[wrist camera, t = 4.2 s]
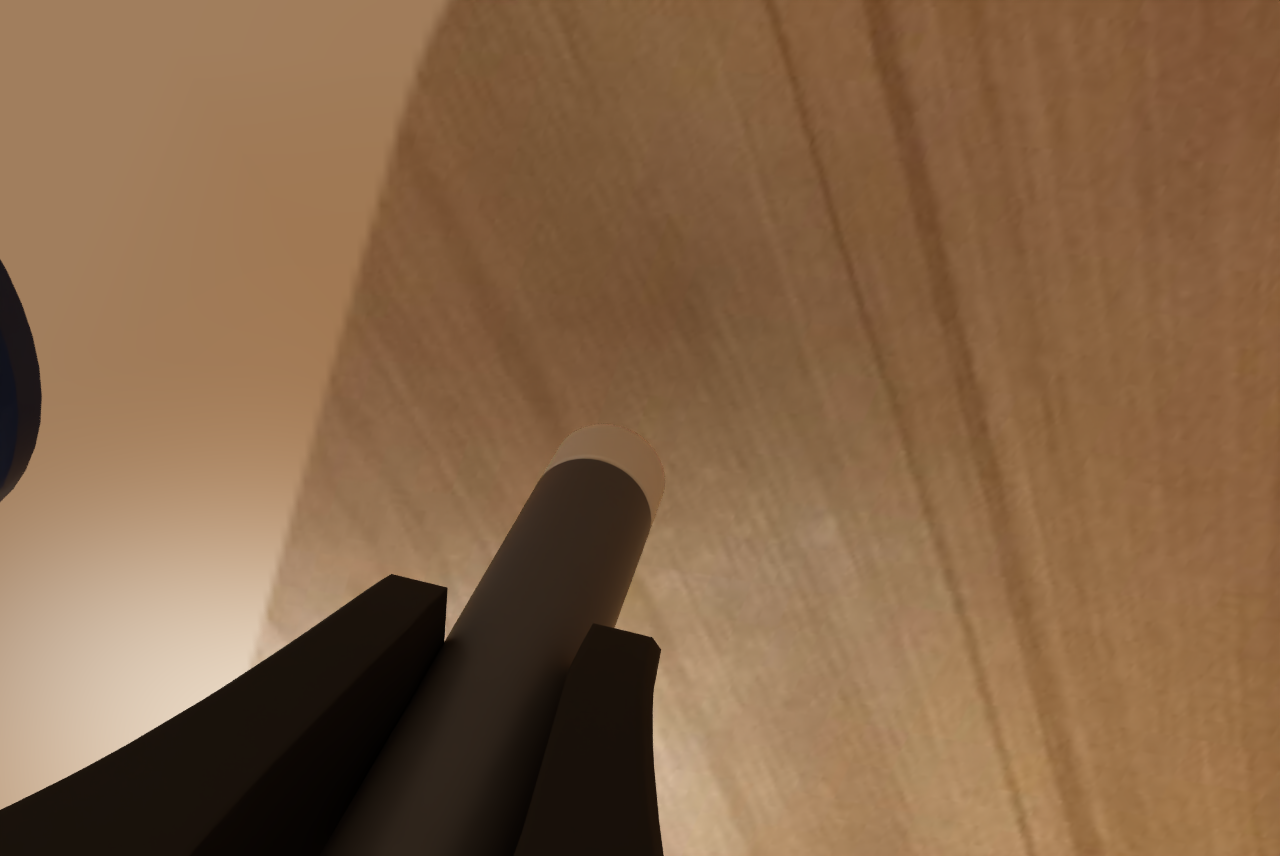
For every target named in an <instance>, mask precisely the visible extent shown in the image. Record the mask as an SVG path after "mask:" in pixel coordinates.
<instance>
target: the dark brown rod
mask: <svg viewBox="0 0 1280 856" xmlns="http://www.w3.org/2000/svg"><path fill="white" fill-rule="evenodd" d="M664 489H665V473H664V468H663V465H662V463H661V460H660V458H659V456H658V455H657V453H656V452H655V450H654V449H653V447H652V446H651V445H650V444H649V443H648V442H647V441H646V440H645V439H644V438H642V437H641V436H640V435H638V434H637V433H635V432H633V431H631V430H629V429H627V428H624V427H621V426H617V425H612V424H594V425H590V426H586V427H583V428H580V429H578V430H576V431H574V432H573V433H571V434H570V435H568V436H567V437H566V438H565V439H564V440H563V442H562V443H561V444H560V446H559V447H558V449H557V451H556V452H555V454H554V456H553V458H552V459H551V461H550V463H549V464H548V466H547V468H546V470H545V471H544V473H543V475H542V477H541V478H540V480H539V482H538V483H537V485H536V487H535V488H534V490H533V492H532V493H531V495H530V497H529V499H528V500H527V502H526V504H525V505H524V507H523V509H522V511H521V512H520V514H519V516H518V517H517V519H516V521H515V523H514V524H513V526H512V528H511V529H510V531H509V533H508V534H507V536H506V538H505V540H504V541H503V543H502V545H501V546H500V548H499V550H498V552H497V553H496V555H495V557H494V558H493V560H492V562H491V564H490V565H489V567H488V569H487V570H486V572H485V574H484V575H483V577H482V579H481V581H480V582H479V584H478V586H477V587H476V589H475V591H474V593H473V594H472V596H471V598H470V599H469V601H468V603H467V605H466V606H465V608H464V610H463V611H462V613H461V615H460V616H459V618H458V620H457V622H456V623H455V625H454V627H453V628H452V630H451V632H450V634H449V635H448V637H447V639H446V640H445V642H444V644H443V646H442V647H441V649H440V651H439V652H438V654H437V656H436V657H435V659H434V661H433V663H432V664H431V666H430V668H429V669H428V671H427V673H426V675H425V676H424V678H423V680H422V681H421V683H420V685H419V687H418V688H417V690H416V692H415V693H414V695H413V697H412V698H411V700H410V702H409V704H408V705H407V707H406V709H405V710H404V712H403V714H402V716H401V717H400V719H399V721H398V722H397V724H396V726H395V728H394V729H393V731H392V733H391V734H390V736H389V738H388V739H387V741H386V743H385V745H384V746H383V748H382V750H381V751H380V753H379V755H378V757H377V758H376V760H375V762H374V763H373V765H372V767H371V769H370V770H369V772H368V774H367V775H366V777H365V779H364V780H363V782H362V784H361V786H360V787H359V789H358V791H357V792H356V794H355V796H354V798H353V799H352V801H351V803H350V804H349V806H348V808H347V810H346V811H345V813H344V815H343V816H342V818H341V820H340V821H339V823H338V825H337V827H336V828H335V830H334V832H333V833H332V835H331V837H330V839H329V840H328V842H327V844H326V845H325V847H324V849H323V851H322V852H321V854H320V856H514V853H515V850H516V847H517V845H518V842H519V839H520V836H521V833H522V830H523V827H524V823H525V820H526V816H527V813H528V809H529V806H530V802H531V799H532V795H533V792H534V788H535V785H536V782H537V778H538V775H539V771H540V768H541V764H542V761H543V757H544V754H545V750H546V747H547V743H548V740H549V736H550V733H551V729H552V726H553V722H554V719H555V715H556V712H557V708H558V705H559V701H560V698H561V694H562V691H563V687H564V684H565V681H566V677H567V674H568V671H569V668H570V666H571V664H572V662H573V660H574V658H575V656H576V654H577V652H578V650H579V648H580V646H581V644H582V642H583V640H584V638H585V637H586V635H587V633H588V631H589V629H590V628H591V626H592V624H593V623H595V624H599V625H603V626H607V627H611V628H614V627H615V625H616V622H617V619H618V617H619V614H620V611H621V608H622V606H623V603H624V600H625V597H626V595H627V592H628V589H629V586H630V584H631V581H632V578H633V575H634V573H635V570H636V567H637V565H638V562H639V559H640V556H641V554H642V551H643V548H644V545H645V543H646V540H647V537H648V534H649V531H650V529H651V526H652V523H653V521H654V518H655V515H656V513H657V510H658V507H659V504H660V502H661V499H662V496H663V493H664Z"/></svg>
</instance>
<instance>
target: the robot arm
mask: <svg viewBox="0 0 1280 856" xmlns="http://www.w3.org/2000/svg"><path fill="white" fill-rule="evenodd" d="M446 604H447V587H443V586H439V585H434V584H430V583H426V582H422V581H418V580H414V579H410V578H406V577H402V576H397V575H393V574H391V575H389V576H387V577H386V578H384V579H382V580H381V581H379V582H378V583H376V584H375V585H373V586H372V587H370V588H369V589H367V590H366V591H364V592H363V593H362V594H360V595H359V596H357V597H356V598H354V599H353V600H351V601H350V602H349V603H347V604H346V605H344V606H343V607H341V608H340V609H339V610H337V611H336V612H334V613H333V614H331V615H330V616H329V617H327V618H326V619H324V620H323V621H321V622H320V623H319V624H317V625H316V626H314V627H313V628H311V629H310V630H308V631H307V632H305V633H304V634H302V635H301V636H300V637H298V638H297V639H295V640H294V641H292V642H291V643H289V644H288V645H286V646H285V647H283V648H282V649H281V650H279V651H277V652H276V653H274V654H273V655H271V656H270V657H268V658H267V659H265V660H264V661H262V662H261V663H259V664H258V665H256V666H255V667H253V668H251V669H250V670H248V671H247V672H245V673H244V674H242V675H241V676H239V677H238V678H237V679H235V680H233V681H232V682H230V683H229V684H227V685H226V686H224V687H222V688H221V689H219V690H218V691H216V692H215V693H213V694H211V695H210V696H208V697H207V698H205V699H203V700H202V701H200V702H198V703H197V704H195V705H194V706H192V707H190V708H188V709H186V710H185V711H183V712H182V713H180V714H178V715H176V716H175V717H173V718H171V719H170V720H168V721H166V722H165V723H163V724H161V725H160V726H158V727H156V728H154V729H153V730H151V731H150V732H148V733H146V734H144V735H143V736H141V737H139V738H138V739H136V740H134V741H133V742H131V743H129V744H127V745H126V746H124V747H122V748H120V749H119V750H117V751H115V752H113V753H111V754H109V755H107V756H106V757H104V758H102V759H100V760H98V761H96V762H95V763H93V764H91V765H89V766H87V767H86V768H83V769H82V770H80V771H78V772H76V773H74V774H72V775H70V776H68V777H67V778H64V779H62V780H60V781H58V782H56V783H54V784H53V785H50V786H48V787H46V788H44V789H42V790H40V791H39V792H36V793H34V794H32V795H30V796H28V797H26V798H24V799H22V800H20V801H18V802H16V803H14V804H12V805H10V806H8V807H5V808H3V809H1V810H0V856H320V854H321V852H322V851H323V849H324V847H325V845H326V844H327V842H328V840H329V839H330V837H331V835H332V833H333V832H334V830H335V828H336V827H337V825H338V823H339V821H340V820H341V818H342V816H343V815H344V813H345V811H346V810H347V808H348V806H349V804H350V803H351V801H352V799H353V798H354V796H355V794H356V792H357V791H358V789H359V787H360V786H361V784H362V782H363V780H364V779H365V777H366V775H367V774H368V772H369V770H370V769H371V767H372V765H373V763H374V762H375V760H376V758H377V757H378V755H379V753H380V751H381V750H382V748H383V746H384V745H385V743H386V741H387V739H388V738H389V736H390V734H391V733H392V731H393V729H394V728H395V726H396V724H397V722H398V721H399V719H400V717H401V716H402V714H403V712H404V710H405V709H406V707H407V705H408V704H409V702H410V700H411V698H412V697H413V695H414V693H415V692H416V690H417V688H418V687H419V685H420V683H421V681H422V680H423V678H424V676H425V675H426V673H427V671H428V669H429V668H430V666H431V664H432V663H433V661H434V659H435V657H436V656H437V654H438V652H439V651H440V649H441V647H442V646H443V644H444V637H445V621H446ZM660 653H661V649H660V647H659V646H658V645H657V643H656V642H655V640H654V639H653V638H652V637H648V636H644V635H640V634H636V633H632V632H628V631H624V630H620V629H615V628H611V627H607V626H603V625H599V624H595V623H593V624H592V626H591V628H590V629H589V631H588V633H587V635H586V637H585V638H584V640H583V642H582V644H581V646H580V648H579V650H578V652H577V654H576V656H575V658H574V660H573V662H572V664H571V666H570V668H569V671H568V674H567V677H566V681H565V684H564V687H563V691H562V694H561V698H560V701H559V705H558V708H557V712H556V715H555V719H554V722H553V726H552V729H551V733H550V736H549V740H548V743H547V747H546V750H545V754H544V757H543V761H542V764H541V768H540V771H539V775H538V778H537V782H536V785H535V788H534V792H533V795H532V799H531V802H530V806H529V809H528V813H527V816H526V820H525V823H524V827H523V830H522V833H521V836H520V839H519V842H518V845H517V847H516V850H515V853H514V856H664V855H663V847H662V840H661V832H660V825H659V815H658V805H657V794H656V783H655V772H654V757H653V692H654V685H655V680H656V674H657V669H658V664H659V658H660Z"/></svg>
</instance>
